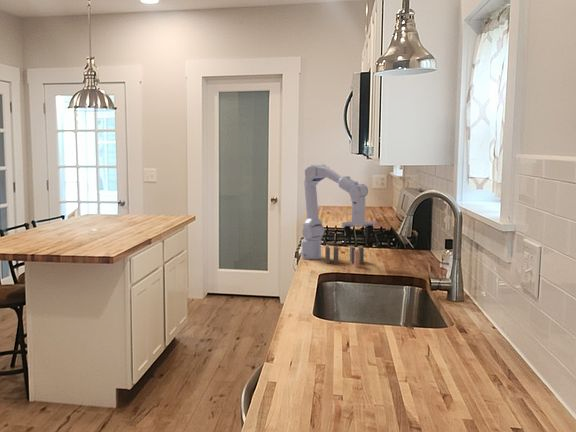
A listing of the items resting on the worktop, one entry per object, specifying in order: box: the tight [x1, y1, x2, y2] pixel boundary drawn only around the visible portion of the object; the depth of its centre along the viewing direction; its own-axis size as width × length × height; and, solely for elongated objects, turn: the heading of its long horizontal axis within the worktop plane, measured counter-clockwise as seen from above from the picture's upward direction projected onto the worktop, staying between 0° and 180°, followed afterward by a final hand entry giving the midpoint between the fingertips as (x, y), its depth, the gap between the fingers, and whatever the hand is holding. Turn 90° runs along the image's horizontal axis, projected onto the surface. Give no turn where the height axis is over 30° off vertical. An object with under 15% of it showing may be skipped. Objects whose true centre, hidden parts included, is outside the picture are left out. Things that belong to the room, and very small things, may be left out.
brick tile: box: [353, 249, 361, 269], centre depth 216 cm, size 2×5×7 cm, turn 2°
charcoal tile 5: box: [324, 245, 331, 265], centre depth 225 cm, size 2×5×7 cm, turn 2°
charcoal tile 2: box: [349, 245, 356, 264], centre depth 225 cm, size 2×5×7 cm, turn 2°
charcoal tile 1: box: [357, 245, 365, 264], centre depth 225 cm, size 2×5×7 cm, turn 2°
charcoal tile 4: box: [333, 245, 339, 265], centre depth 225 cm, size 2×5×7 cm, turn 2°
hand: (358, 243), depth 217 cm, fingers open, 7 cm apart
